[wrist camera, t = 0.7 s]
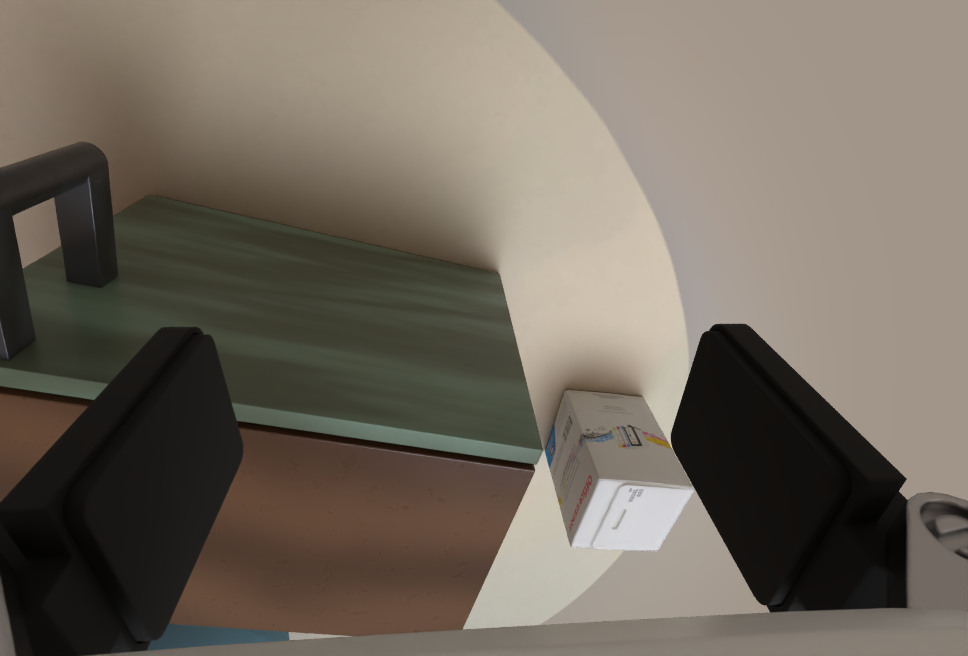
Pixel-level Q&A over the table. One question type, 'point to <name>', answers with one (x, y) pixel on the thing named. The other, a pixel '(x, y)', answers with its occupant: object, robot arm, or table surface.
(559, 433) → the ink box
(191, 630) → the vase
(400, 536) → the cupboard
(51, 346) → the cupboard door
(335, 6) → the table surface
